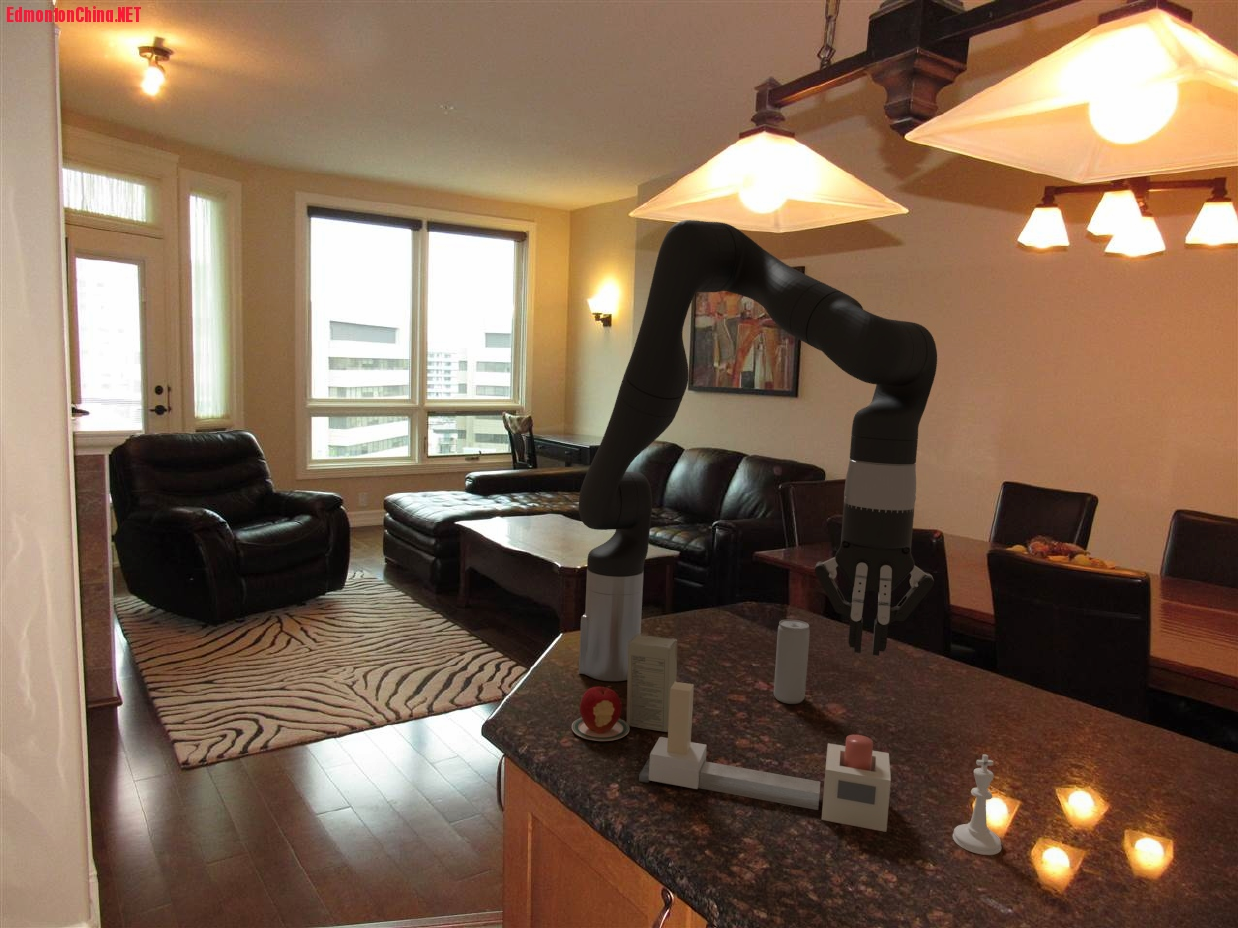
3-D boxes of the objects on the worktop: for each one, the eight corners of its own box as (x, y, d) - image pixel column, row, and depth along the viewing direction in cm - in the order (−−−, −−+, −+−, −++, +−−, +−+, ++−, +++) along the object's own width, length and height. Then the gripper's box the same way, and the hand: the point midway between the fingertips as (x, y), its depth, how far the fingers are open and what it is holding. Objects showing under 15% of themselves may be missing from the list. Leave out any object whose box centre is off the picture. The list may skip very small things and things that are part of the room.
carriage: (648, 779, 100) (653, 690, 98) (658, 761, 105) (663, 675, 103) (697, 788, 98) (702, 698, 97) (705, 769, 103) (710, 682, 102)
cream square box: (821, 820, 93) (825, 770, 92) (824, 790, 100) (827, 743, 99) (886, 832, 91) (890, 781, 90) (884, 801, 98) (888, 753, 97)
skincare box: (675, 721, 118) (680, 638, 116) (667, 733, 114) (672, 648, 112) (633, 713, 120) (637, 632, 118) (623, 725, 116) (627, 641, 114)
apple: (641, 732, 114) (643, 686, 113) (600, 749, 108) (603, 702, 107) (599, 713, 119) (601, 670, 119) (559, 729, 114) (561, 684, 113)
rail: (638, 780, 100) (639, 765, 100) (649, 762, 105) (649, 747, 105) (817, 814, 94) (818, 797, 94) (819, 793, 99) (820, 777, 99)
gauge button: (842, 785, 94) (845, 743, 94) (843, 773, 97) (846, 732, 97) (869, 789, 93) (873, 748, 93) (869, 777, 96) (872, 737, 96)
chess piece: (944, 829, 92) (952, 744, 91) (986, 829, 93) (995, 744, 92) (966, 855, 88) (975, 765, 86) (1010, 855, 88) (1020, 766, 87)
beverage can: (802, 694, 130) (808, 620, 129) (806, 706, 125) (812, 629, 124) (771, 691, 131) (776, 618, 129) (774, 703, 126) (779, 627, 124)
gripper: (814, 501, 90) (803, 654, 92) (947, 512, 86) (933, 672, 88) (817, 492, 97) (807, 634, 99) (941, 502, 93) (927, 650, 95)
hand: (866, 651), depth 93 cm, fingers closed
